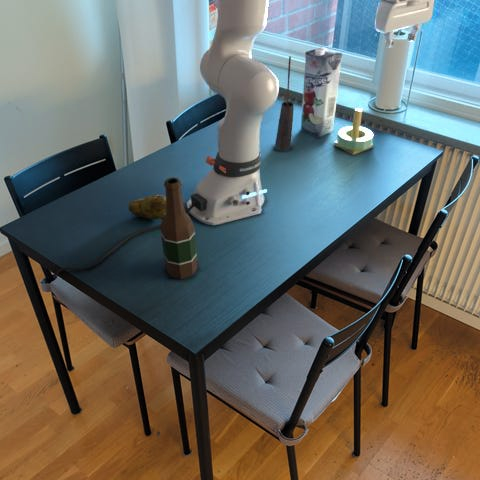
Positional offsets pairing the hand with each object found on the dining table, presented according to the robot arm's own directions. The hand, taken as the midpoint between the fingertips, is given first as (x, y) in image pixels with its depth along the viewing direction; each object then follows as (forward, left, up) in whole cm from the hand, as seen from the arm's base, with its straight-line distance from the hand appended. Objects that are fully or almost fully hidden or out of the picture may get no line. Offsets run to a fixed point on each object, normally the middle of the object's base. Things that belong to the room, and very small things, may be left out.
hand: (399, 43), depth 154 cm
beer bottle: (-88, -18, -31) cm, 95 cm away
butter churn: (-28, +17, -31) cm, 45 cm away
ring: (-8, +5, -30) cm, 31 cm away
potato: (-83, +6, -31) cm, 89 cm away
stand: (-8, +5, -31) cm, 33 cm away
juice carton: (-10, +21, -31) cm, 39 cm away
